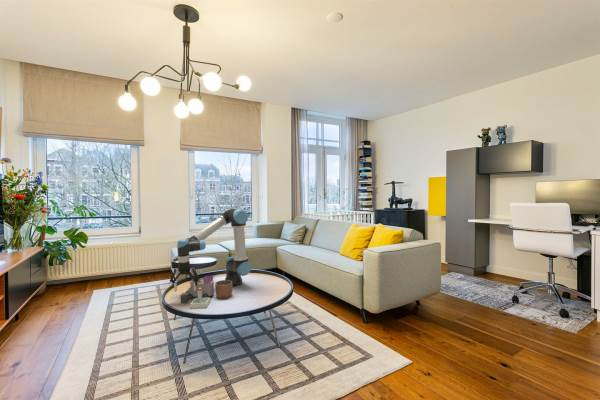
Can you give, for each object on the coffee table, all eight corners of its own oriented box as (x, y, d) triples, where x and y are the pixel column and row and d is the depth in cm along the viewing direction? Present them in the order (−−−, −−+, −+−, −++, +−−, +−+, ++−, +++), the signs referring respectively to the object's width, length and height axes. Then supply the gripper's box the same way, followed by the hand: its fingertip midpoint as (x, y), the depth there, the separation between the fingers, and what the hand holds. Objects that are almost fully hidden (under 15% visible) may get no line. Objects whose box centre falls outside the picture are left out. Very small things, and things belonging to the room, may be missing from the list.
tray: (210, 302, 204) (210, 297, 204) (206, 308, 194) (206, 303, 194) (195, 303, 203) (194, 297, 203) (190, 309, 193) (190, 303, 193)
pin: (203, 303, 200) (203, 286, 200) (202, 306, 196) (201, 288, 196) (198, 304, 200) (197, 287, 200) (196, 306, 196) (196, 288, 196)
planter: (223, 301, 206) (223, 286, 206) (211, 298, 213) (211, 283, 213) (236, 295, 217) (235, 281, 217) (224, 292, 223) (224, 279, 223)
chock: (188, 300, 208) (188, 292, 208) (186, 303, 203) (186, 295, 203) (183, 301, 208) (182, 292, 207) (180, 303, 203) (180, 295, 202)
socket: (208, 299, 209) (208, 296, 209) (207, 302, 204) (206, 299, 204) (200, 300, 209) (200, 296, 209) (198, 302, 204) (198, 299, 204)
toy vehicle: (188, 295, 219) (188, 275, 219) (214, 294, 221) (214, 275, 220) (184, 299, 210) (184, 279, 209) (212, 298, 211) (211, 278, 211)
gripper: (203, 259, 209) (204, 287, 210) (167, 260, 207) (169, 289, 208) (200, 261, 201) (201, 291, 202) (163, 263, 200) (165, 293, 201)
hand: (185, 290), depth 205 cm, fingers open, 13 cm apart
